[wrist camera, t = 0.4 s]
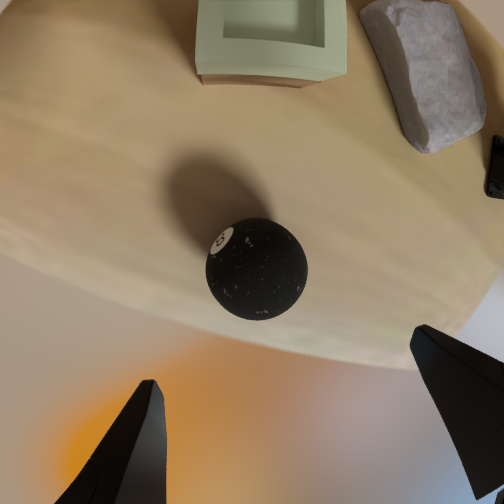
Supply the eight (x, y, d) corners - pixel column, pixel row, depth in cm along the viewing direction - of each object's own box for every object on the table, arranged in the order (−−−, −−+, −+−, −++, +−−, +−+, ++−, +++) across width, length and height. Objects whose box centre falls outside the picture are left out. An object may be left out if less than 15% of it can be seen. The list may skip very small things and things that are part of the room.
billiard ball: (249, 298, 22) (264, 353, 17) (188, 252, 20) (183, 303, 14) (307, 244, 21) (340, 289, 15) (249, 188, 18) (267, 219, 13)
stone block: (416, 4, 14) (342, 8, 13) (458, -3, 10) (390, -12, 9) (455, 120, 20) (397, 155, 19) (495, 126, 16) (447, 165, 15)
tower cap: (318, -13, 10) (343, -35, 7) (318, 81, 12) (346, 74, 10) (203, -24, 9) (204, -54, 6) (197, 74, 12) (194, 61, 9)
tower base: (299, 9, 13) (320, -13, 10) (298, 88, 16) (321, 81, 12) (205, 3, 13) (206, -24, 9) (202, 85, 15) (201, 75, 12)
